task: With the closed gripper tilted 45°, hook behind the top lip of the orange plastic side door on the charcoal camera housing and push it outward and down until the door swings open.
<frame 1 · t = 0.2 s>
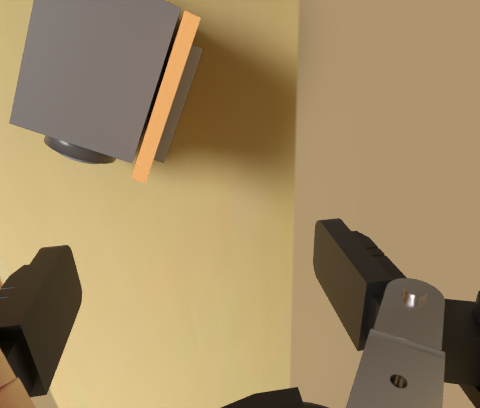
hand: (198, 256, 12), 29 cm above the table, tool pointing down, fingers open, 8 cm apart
camera housing: (113, 62, 35), on the table
side door: (170, 93, 30), point 8 cm above the table, hinge at 0.0°
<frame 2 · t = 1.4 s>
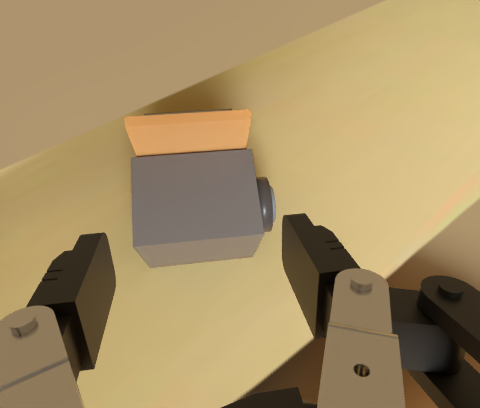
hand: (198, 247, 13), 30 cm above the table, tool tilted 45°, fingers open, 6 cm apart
camera housing: (199, 225, 44), on the table
side door: (192, 153, 39), point 8 cm above the table, hinge at 0.0°
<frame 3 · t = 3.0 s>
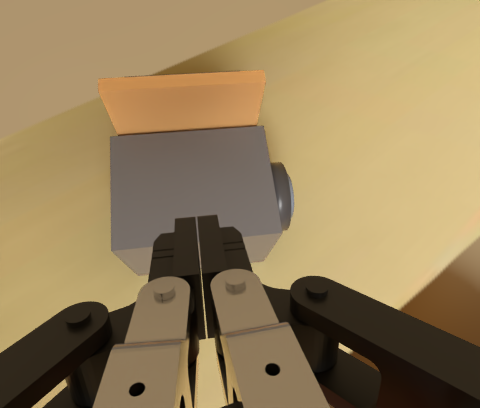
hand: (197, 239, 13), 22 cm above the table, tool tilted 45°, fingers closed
camera housing: (197, 223, 37), on the table
side door: (189, 133, 31), point 8 cm above the table, hinge at 0.0°
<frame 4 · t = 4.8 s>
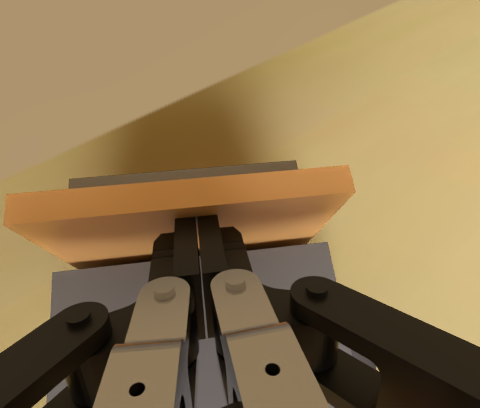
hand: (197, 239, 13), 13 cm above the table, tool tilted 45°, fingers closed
camera housing: (207, 357, 24), on the table
side door: (195, 241, 19), point 8 cm above the table, hinge at 0.7°, touching gripper
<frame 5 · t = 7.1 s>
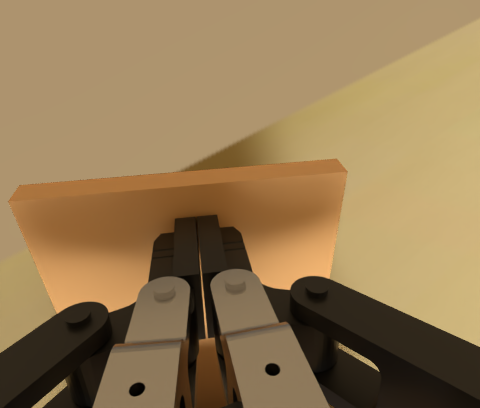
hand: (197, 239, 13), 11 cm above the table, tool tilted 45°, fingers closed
side door: (201, 313, 17), point 6 cm above the table, hinge at 36.2°, touching gripper
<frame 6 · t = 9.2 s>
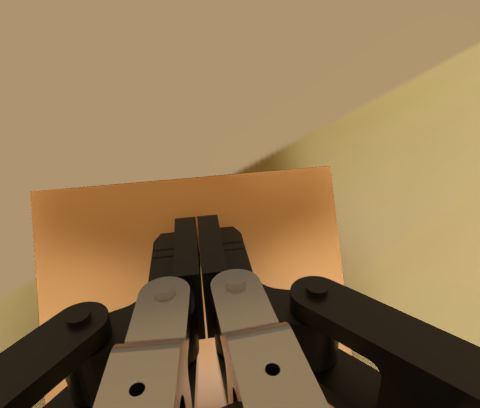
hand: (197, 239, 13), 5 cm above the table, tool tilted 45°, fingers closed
side door: (205, 369, 14), point 3 cm above the table, hinge at 73.3°, touching gripper
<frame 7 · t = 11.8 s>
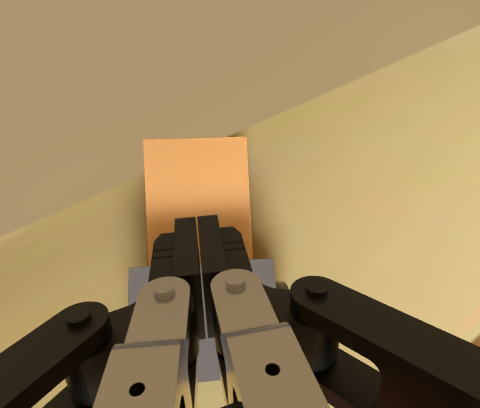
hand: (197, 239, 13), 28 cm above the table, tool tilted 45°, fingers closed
camera housing: (204, 322, 38), on the table
side door: (198, 206, 40), point 3 cm above the table, hinge at 73.4°
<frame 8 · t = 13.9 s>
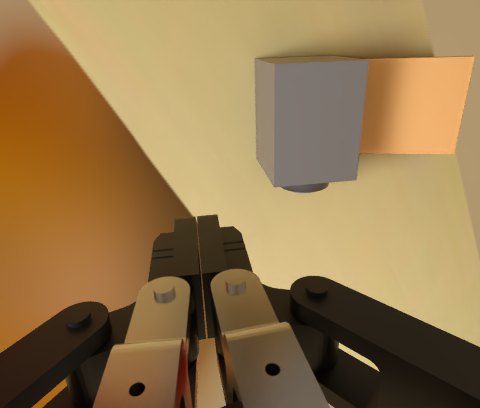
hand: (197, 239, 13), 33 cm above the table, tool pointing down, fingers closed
camera housing: (291, 109, 45), on the table
side door: (395, 107, 44), point 3 cm above the table, hinge at 73.4°
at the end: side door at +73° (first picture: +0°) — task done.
